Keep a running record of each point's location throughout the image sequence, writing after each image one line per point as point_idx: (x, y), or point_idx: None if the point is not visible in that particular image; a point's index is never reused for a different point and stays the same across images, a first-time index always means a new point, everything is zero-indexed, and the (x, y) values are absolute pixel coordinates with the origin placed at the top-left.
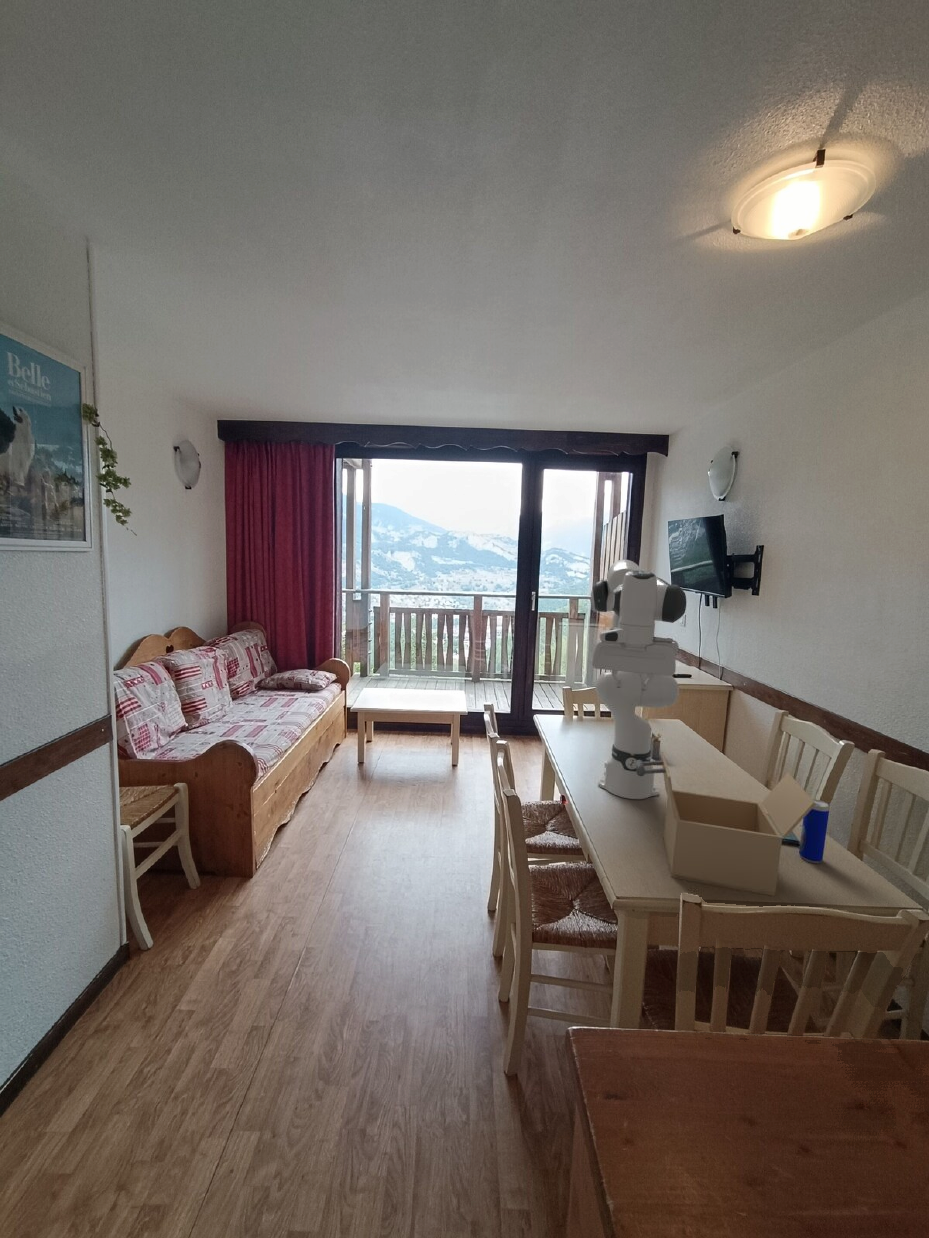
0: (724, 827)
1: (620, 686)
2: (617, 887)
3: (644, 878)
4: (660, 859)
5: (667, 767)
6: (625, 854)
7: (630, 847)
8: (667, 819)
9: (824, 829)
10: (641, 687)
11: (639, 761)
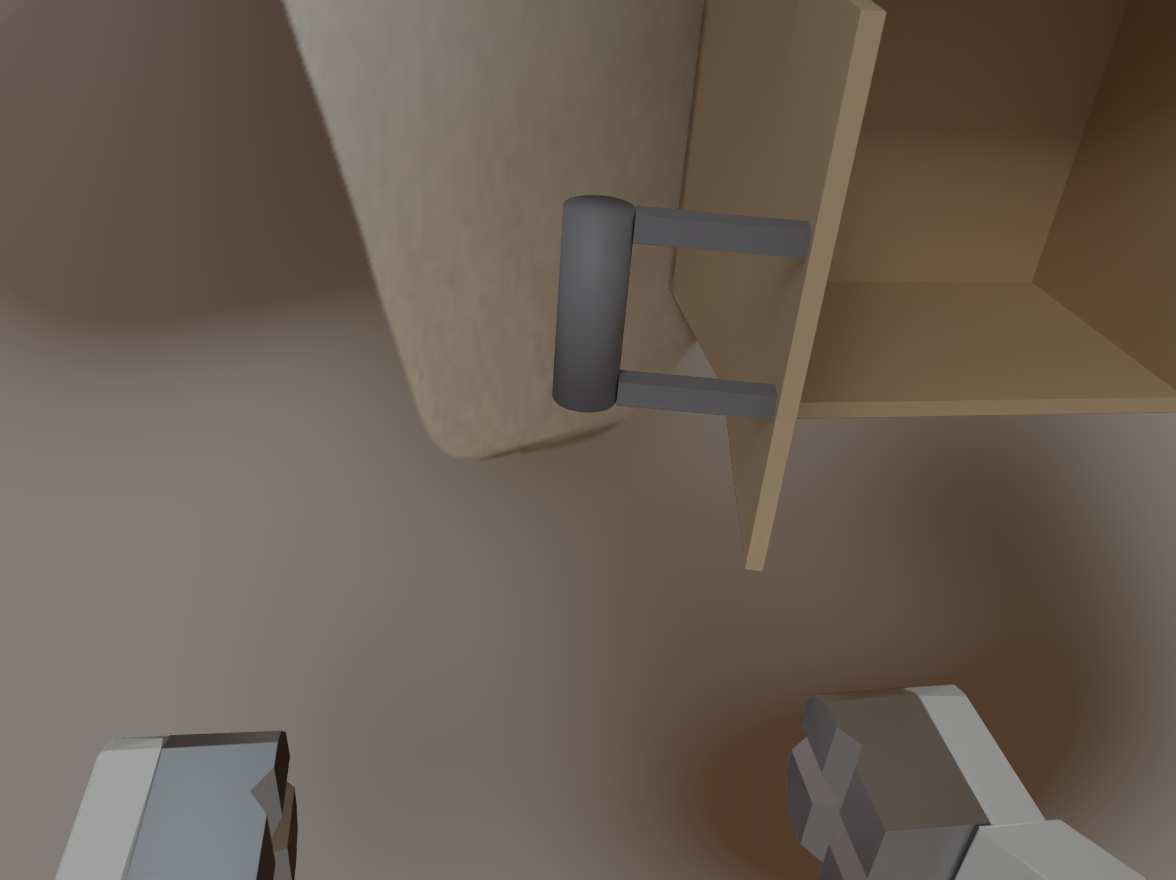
0: (964, 404)
1: (282, 876)
2: (441, 420)
3: (553, 330)
4: (651, 155)
5: (792, 423)
6: (484, 162)
7: (514, 80)
8: (749, 34)
9: None
10: (815, 813)
11: (598, 261)
